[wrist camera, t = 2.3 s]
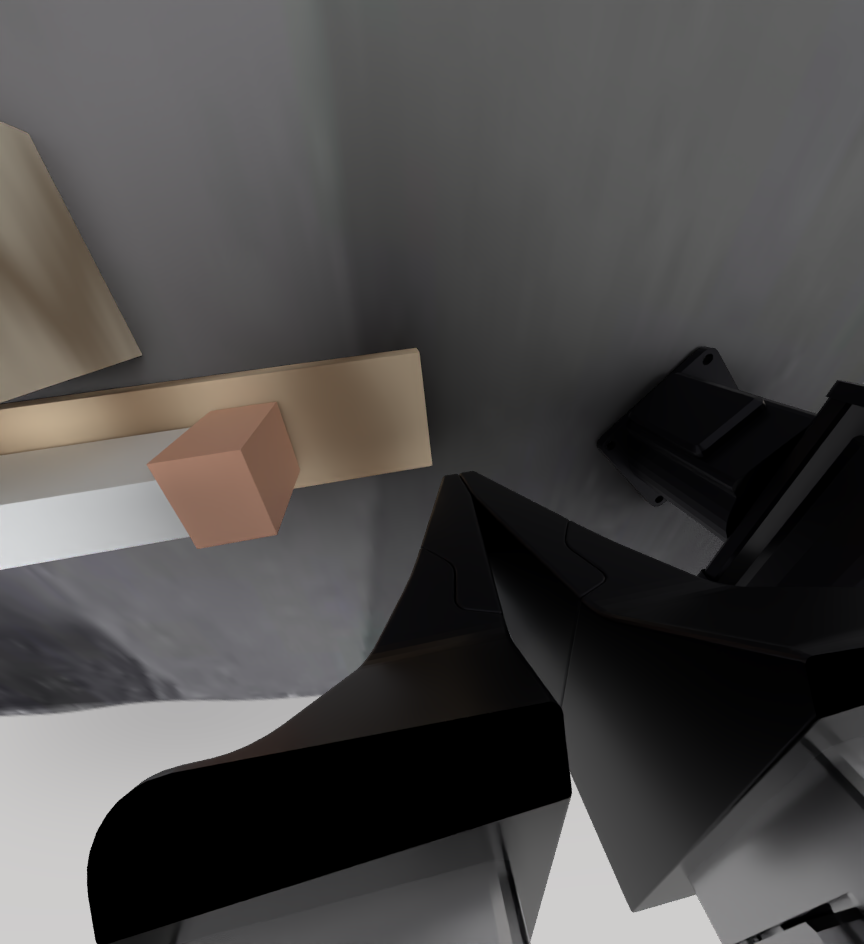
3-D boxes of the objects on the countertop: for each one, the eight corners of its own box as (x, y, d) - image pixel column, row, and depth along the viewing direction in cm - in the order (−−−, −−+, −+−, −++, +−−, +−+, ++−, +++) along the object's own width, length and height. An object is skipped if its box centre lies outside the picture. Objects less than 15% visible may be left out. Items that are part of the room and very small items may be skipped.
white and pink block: (276, 401, 13) (240, 449, 9) (300, 470, 14) (277, 534, 11) (-93, 454, 12) (-300, 533, 8) (-25, 523, 13) (-174, 614, 10)
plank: (416, 347, 14) (419, 352, 13) (428, 455, 16) (432, 465, 16) (-595, 484, 11) (-676, 501, 10) (-390, 590, 13) (-441, 611, 13)
